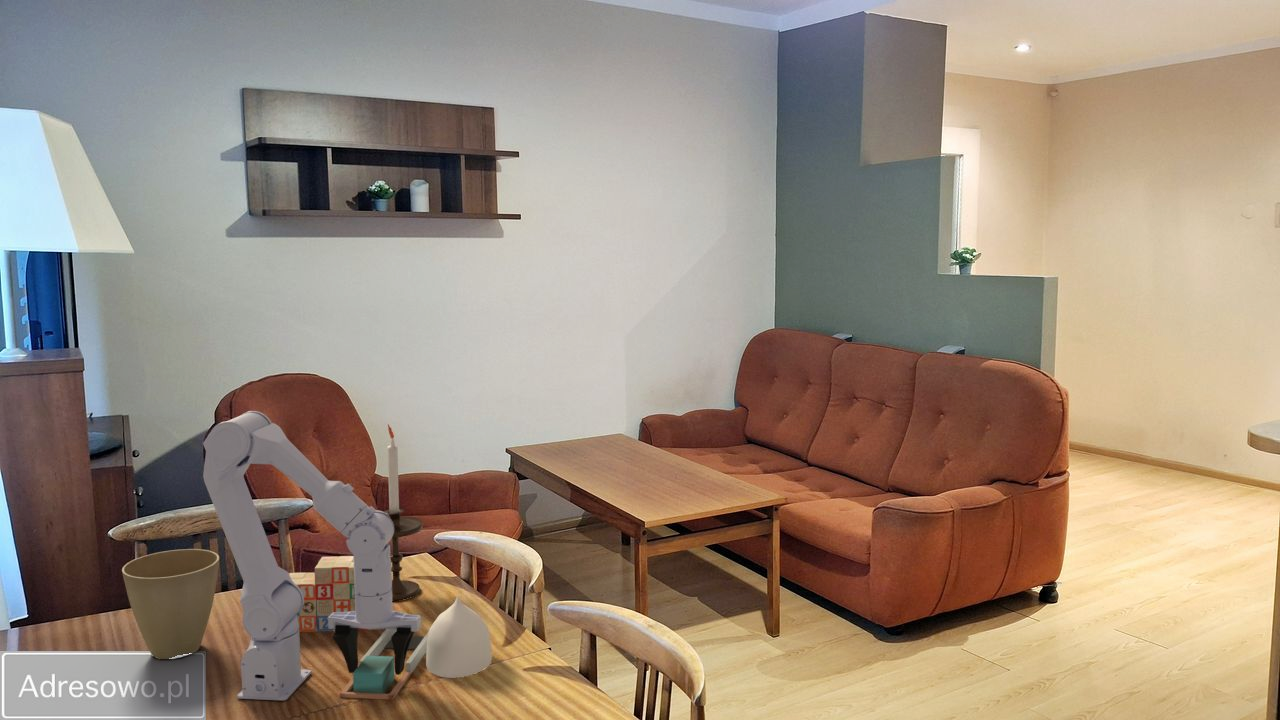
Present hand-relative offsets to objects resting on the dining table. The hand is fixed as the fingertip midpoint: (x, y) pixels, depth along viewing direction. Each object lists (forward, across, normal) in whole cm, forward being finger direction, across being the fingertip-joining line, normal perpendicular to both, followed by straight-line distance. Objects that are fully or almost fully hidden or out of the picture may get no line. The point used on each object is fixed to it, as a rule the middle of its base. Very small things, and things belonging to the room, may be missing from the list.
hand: (376, 670), depth 146 cm
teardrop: (+3, -11, -9) cm, 14 cm away
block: (+3, 0, +1) cm, 3 cm away
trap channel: (+2, 0, -8) cm, 8 cm away
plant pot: (+2, +39, -9) cm, 40 cm away
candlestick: (+3, +10, -38) cm, 39 cm away
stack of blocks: (+3, +17, -22) cm, 28 cm away
